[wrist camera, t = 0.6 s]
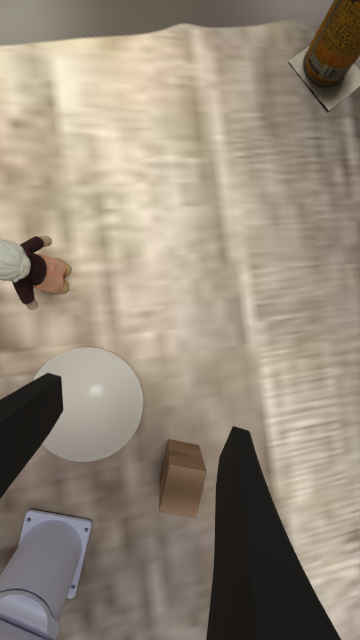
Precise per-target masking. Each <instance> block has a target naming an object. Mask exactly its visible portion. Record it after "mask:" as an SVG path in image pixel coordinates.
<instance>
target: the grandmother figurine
mask: <svg viewBox="0 0 360 640" xmlns="http://www.w3.org/2000/svg"><path fill="white" fill-rule="evenodd" d="M51 244H52V240H51V238H50V237H48V236H43V237H37V236H36V237H33V238H31V239H29V240H28V241H26V242H24V243H22V244H21V245H19V244H17V243H14V242H11V241H7V240H0V280H3V281H12V282H13V285H14V287H15V290H16V292H17V294H18V296H19V298H20V300H21V301H22V303H24V304H25V305H27V307H28V308H29V309H30V310H35V309H36V308H37V307H38V303H37V301H36V300H35V298H34V290H33V287H34V288H36V289H39V290H43V291H46V292H49V293H51V294H64V293H66V292H68V290H69V284H68V283H67V282H66V281H64V280H63V276H68V275H69V274H70V272H71V266H70V265H69V264H67V263H66V262H64V261H62V260H61V259H58V258H55V259H54V258H51V257H48V256H45V255H42V254H35V253H34V252H36V251H38V250H40V249H41V248H42V247H45V246H50V245H51Z"/></svg>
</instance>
